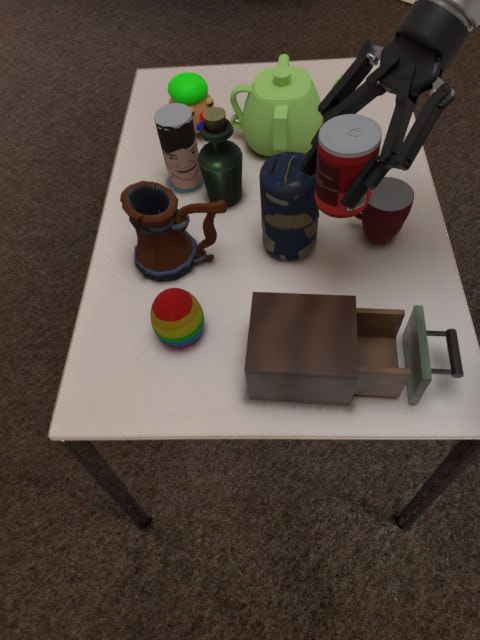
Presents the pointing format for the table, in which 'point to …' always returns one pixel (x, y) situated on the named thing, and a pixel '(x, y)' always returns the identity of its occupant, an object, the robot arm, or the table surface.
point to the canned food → (344, 161)
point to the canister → (288, 207)
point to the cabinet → (302, 348)
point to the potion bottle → (220, 158)
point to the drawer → (381, 353)
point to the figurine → (191, 95)
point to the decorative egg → (177, 317)
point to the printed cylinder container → (179, 146)
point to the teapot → (279, 110)
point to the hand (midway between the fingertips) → (325, 188)
